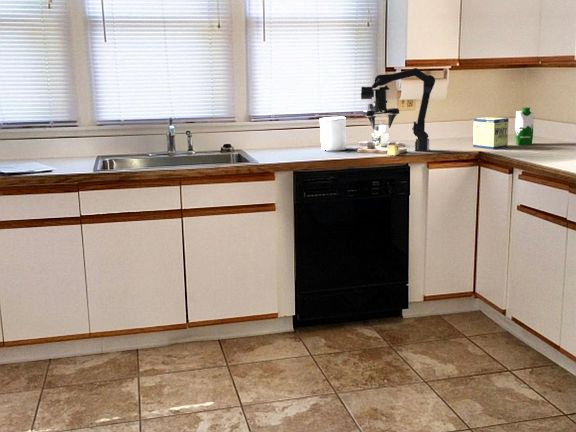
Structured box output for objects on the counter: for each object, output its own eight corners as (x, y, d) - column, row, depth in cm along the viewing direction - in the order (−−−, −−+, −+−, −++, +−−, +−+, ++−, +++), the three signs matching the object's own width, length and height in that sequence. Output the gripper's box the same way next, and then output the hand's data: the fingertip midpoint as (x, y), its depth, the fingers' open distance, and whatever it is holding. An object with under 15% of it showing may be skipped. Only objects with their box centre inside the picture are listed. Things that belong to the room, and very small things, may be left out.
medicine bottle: (371, 146, 391) (371, 125, 389) (380, 145, 395) (380, 124, 393) (380, 147, 386) (380, 125, 383) (389, 145, 390) (389, 124, 387)
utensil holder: (315, 150, 381) (314, 119, 377) (326, 147, 394) (326, 116, 390) (340, 151, 374) (339, 119, 370) (350, 148, 387) (350, 116, 383)
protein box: (493, 149, 358) (494, 119, 355) (472, 147, 371) (473, 118, 368) (508, 147, 363) (509, 118, 359) (486, 145, 376) (487, 116, 373)
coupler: (398, 154, 353) (398, 144, 352) (394, 155, 349) (394, 146, 348) (391, 154, 356) (391, 144, 354) (387, 155, 351) (387, 145, 350)
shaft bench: (408, 151, 363) (408, 141, 361) (401, 153, 354) (401, 143, 353) (363, 150, 376) (363, 140, 375) (355, 152, 367) (355, 142, 366)
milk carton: (517, 145, 369) (518, 108, 365) (513, 143, 378) (514, 107, 374) (534, 145, 368) (535, 107, 364) (530, 143, 377) (531, 106, 373)
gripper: (390, 97, 371) (390, 126, 375) (358, 99, 366) (359, 128, 369) (399, 97, 361) (400, 127, 364) (366, 100, 356) (367, 130, 359)
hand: (381, 128), depth 365 cm, fingers open, 9 cm apart
